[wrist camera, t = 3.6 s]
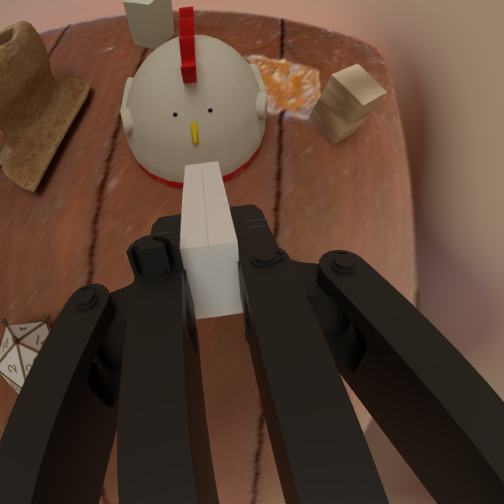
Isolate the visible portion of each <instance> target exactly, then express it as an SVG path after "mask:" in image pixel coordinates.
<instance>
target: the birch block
mask: <svg viewBox="0 0 504 504" xmlns="http://www.w3.org/2000/svg"><path fill="white" fill-rule="evenodd" d="M386 93H387V92H386V91H385V90H384V89H383V88H382V86H381V85H380V84H379V83H378V82H377V81H375V80H374V79H373V78H372V77H371V76H370V75H369V74H368V73H367V72H366V71H365V70H364V69H363V68H362V67H361V66H360V65H359V64H356V65H353V66H351V67H348V68H346V69H344V70H341V71H339V72H336V73H334V74H332V75H331V77H330V79H329V81H328V83H327V85H326V87H325V89H324V90H323V92H322V94H321V96H320V98H319V100H318V102H317V104H316V106H315V108H314V110H313V112H312V114H311V116H310V118H309V120H308V121H309V122H310V123H311V124H312V125H313V126H314V127H315V128H316V129H317V130H318V131H319V132H320V133H321V135H322V136H323V137H324V138H325V139H326V140H327V141H328V142H329V143H330V144H331V146H332V147H333V146H334V145H336V144H337V143H339V142H340V141H342V140H343V139H345V138H346V137H348V136H349V135H351V134H352V133H354V132H355V131H356V130H357V129H358V127H359V126H360V125H361V124H362V123H363V121H364V120H365V119H366V118H367V116H368V115H369V114H370V113H371V111H372V110H373V109H374V108H375V107H376V105H377V104H378V103H379V102H380V100H381V99H382V98H383V97H384V96H385V94H386Z"/></svg>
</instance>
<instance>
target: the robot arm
mask: <svg viewBox="0 0 504 504" xmlns="http://www.w3.org/2000/svg"><path fill="white" fill-rule="evenodd" d="M126 253H127V256H128V259H129V262H130V265H131V267H132V270H133V273H134V276H135V278H134V282H133V283H132V284H130V285H129V286H127V287H124V288H122V289H119V290H117V291H114V292H111V293H109V291H108V289H107V288H106V287H105V286H104V285H100V284H89V285H86V286H83V287H81V288H80V289H78V290H77V291H75V292H74V293H73V294H72V296H71V297H70V298H69V299H68V301H67V303H66V304H65V306H64V308H63V309H62V311H61V313H60V314H59V316H58V318H57V319H56V321H55V323H54V325H53V326H52V328H51V330H50V332H49V334H48V335H47V337H46V339H45V341H44V343H43V345H42V347H41V349H40V350H39V352H38V354H37V356H36V358H35V360H34V362H33V364H32V366H31V368H30V371H29V373H28V375H27V377H26V379H25V381H24V383H23V386H22V388H21V390H20V392H19V395H18V397H17V399H16V402H15V404H14V407H13V409H12V411H11V414H10V417H9V419H8V422H7V424H6V427H5V430H4V433H3V436H2V438H1V441H0V504H99V501H100V496H101V491H102V487H103V482H104V478H105V474H106V470H107V465H108V461H109V457H110V454H111V450H112V446H113V442H114V438H115V435H116V431H117V428H118V432H117V473H118V496H119V504H219V500H218V494H217V488H216V482H215V476H214V470H213V464H212V457H211V450H210V443H209V436H208V428H207V420H206V412H205V403H204V394H203V385H202V375H201V364H200V352H199V340H198V331H197V328H196V324H195V316H196V319H202V318H210V317H218V316H225V315H232V314H239V313H244V321H245V334H246V341H248V343H249V348H250V353H251V357H252V362H253V366H254V371H255V376H256V380H257V385H258V389H259V394H260V398H261V402H262V407H263V411H264V416H265V420H266V424H267V429H268V433H269V437H270V441H271V446H272V450H273V454H274V458H275V462H276V466H277V470H278V475H279V479H280V483H281V487H282V491H283V495H284V499H285V503H286V504H389V502H388V499H387V497H386V493H385V491H384V488H383V485H382V483H381V479H380V477H379V474H378V471H377V469H376V466H375V463H374V460H373V458H372V455H371V452H370V450H369V447H368V444H367V442H366V439H365V436H364V434H363V431H362V429H361V426H360V423H359V421H358V418H357V416H356V413H355V411H354V408H353V406H352V403H351V401H350V398H349V396H348V393H347V391H346V388H345V386H344V383H343V381H342V378H341V376H342V377H343V378H344V380H345V381H346V382H347V384H348V385H349V386H350V388H351V389H352V390H353V392H354V393H355V394H356V396H357V397H358V398H359V400H360V401H361V402H362V404H363V405H364V406H365V408H366V409H367V410H368V412H369V413H370V414H371V416H372V417H373V418H374V420H375V421H376V422H377V424H378V425H379V426H380V428H381V429H382V431H383V432H384V433H385V435H386V436H387V437H388V439H389V440H390V441H391V442H392V444H393V445H394V446H395V448H396V449H397V451H398V452H399V453H400V455H401V456H402V457H403V458H404V460H405V461H406V462H407V464H408V465H409V466H410V468H411V469H412V470H413V472H414V473H415V475H416V476H417V477H418V479H419V480H420V481H421V483H422V484H423V485H424V487H425V488H426V489H427V491H428V492H429V493H430V495H431V496H432V497H433V499H434V500H435V501H436V503H437V504H504V402H503V401H502V399H501V398H500V397H499V396H498V395H497V393H496V392H495V391H494V390H493V389H492V388H491V387H490V386H489V384H488V383H487V382H486V381H485V380H484V378H483V377H482V376H481V375H480V374H479V373H478V372H477V371H476V370H475V369H474V367H473V366H472V365H471V364H470V363H469V362H468V361H467V360H466V359H465V358H464V357H463V355H462V354H461V353H460V352H459V351H458V350H457V349H456V348H455V347H454V346H453V345H452V344H451V343H450V342H449V341H448V340H447V339H446V338H445V337H444V336H443V335H442V334H441V333H440V331H439V330H437V329H436V327H435V326H434V325H432V323H430V321H429V320H428V319H427V318H426V317H424V316H423V315H422V314H421V313H420V312H419V311H418V310H417V309H416V308H415V307H414V306H413V305H412V304H411V303H410V302H409V301H408V300H407V299H406V298H405V297H404V296H403V295H402V294H401V293H400V292H398V291H397V290H396V289H395V288H394V287H393V286H392V285H391V284H390V283H389V282H388V281H387V280H386V279H384V278H383V277H382V276H381V275H380V274H379V273H378V272H377V271H376V270H375V269H373V268H372V267H371V266H370V265H369V264H368V263H367V262H366V261H364V260H363V259H362V258H361V257H359V256H358V255H356V254H355V253H352V252H348V251H343V250H335V251H329V252H327V253H325V254H324V255H322V257H321V258H320V260H319V264H315V263H303V262H297V261H294V260H291V259H290V258H289V256H288V254H287V253H286V252H285V251H284V250H282V249H280V248H279V247H277V245H276V242H275V240H274V238H273V235H272V233H271V231H270V228H269V226H268V224H267V221H266V219H265V217H264V215H263V212H262V210H261V209H259V208H258V207H256V206H255V205H253V204H252V205H243V206H235V207H229V205H228V201H227V196H226V192H225V188H224V184H223V180H222V176H221V171H220V167H219V163H218V161H217V162H208V163H200V164H192V165H185V174H184V186H183V199H182V214H180V215H173V216H166V217H159V218H158V220H157V221H156V222H155V223H154V224H153V225H152V230H151V235H148V236H144V237H142V238H140V239H138V240H136V241H135V242H134V243H132V244H131V245H130V246H129V248H128V250H127V251H126ZM340 374H341V376H340Z"/></svg>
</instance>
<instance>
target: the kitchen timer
mask: <svg viewBox="0 0 504 504" xmlns="http://www.w3.org/2000/svg"><path fill="white" fill-rule="evenodd" d="M179 12H180V19H179V27H180V37H177V38H174V39H172V40H170V41H168V42H166V43H164V44H162V45H161V46H160V47H158V48H157V49H156V50H155V51H153V52H152V53H151V54H150V55H149V56H148V57H147V58H146V60H145V61H144V62H143V64H142V65H141V67H140V68H139V69H138V71H137V73H136V74H135V76H134V78H131V77H129V78H128V79H127V81H126V85H125V89H124V95H123V101H122V107H121V109H120V112H121V117H122V123H123V129H124V133H125V135H126V136H127V141H128V145H129V147H130V149H131V151H132V153H133V155H134V157H135V159H136V160H137V162H138V164H139V166H140V168H141V169H142V170H144V171H145V172H146V173H147V174H148V175H149V176H150V177H151V178H152V179H154V180H156V181H158V182H160V183H163V184H165V185H167V186H170V187H174V188H182V189H183V186H184V174H185V165H192V164H200V163H208V162H217V161H218V163H219V167H220V171H221V176H222V180H223V183H224V182H226V181H229V180H231V179H233V178H234V177H235V176H237V175H238V174H239V173H241V172H242V171H243V170H245V169H246V168H247V167H248V166H249V164H250V163H251V162H252V160H253V159H254V158H255V156H256V155H257V154H258V151H259V148H260V145H261V142H262V139H263V135H264V132H265V118H266V117H267V96H266V90H265V87H264V84H263V81H262V78H261V75H260V72H259V69H258V67H257V65H256V64H255V63H252V64H250V65H249V64H248V63H247V62H246V60H245V59H244V58H243V57H242V56H241V55H240V54H239V53H238V52H237V51H236V50H235V49H234V48H232V47H231V46H229V45H227V44H226V43H224V42H222V41H220V40H218V39H216V38H212V37H209V36H205V35H194V15H193V7H185V8H179Z"/></svg>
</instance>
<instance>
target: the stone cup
mask: <svg viewBox="0 0 504 504" xmlns="http://www.w3.org/2000/svg"><path fill="white" fill-rule="evenodd" d="M89 91H90V84H89V83H88V82H87V81H85V80H83V79H80V78H76V77H63V78H58V79H55V80H54V78H53V76H52V73H51V69H50V63H49V58H48V54H47V51H46V48H45V45H44V43H43V41H42V39H41V37H40V36H39V34H38V33H37V31H36V30H35V29H34V27H33V26H32V25H31V24H30V23H28V22H26V21H20V22H17V23H15V24H12V25H10V26H8V27H7V28H5V29H4V30H2V31H1V32H0V129H1V130H2V131H3V132H4V133H5V135H6V141H5V144H4V146H3V148H2V150H1V152H0V165H1V166H2V169H3V171H4V173H5V175H6V176H7V177H8V178H10V179H11V180H12V181H13V182H14V183H16V184H17V185H19V186H20V187H22V188H23V189H24V190H27V191H30V192H31V193H33V192H35V190H36V189H37V187H38V185H39V183H40V181H41V179H42V177H43V175H44V173H45V171H46V169H47V168H48V166H49V164H50V162H51V160H52V158H53V156H54V155H55V153H56V151H57V149H58V147H59V145H60V143H61V142H62V140H63V138H64V137H65V135H66V133H67V131H68V129H69V128H70V126H71V124H72V123H73V121H74V119H75V117H76V115H77V114H78V112H79V110H80V108H81V107H82V105H83V103H84V102H85V100H86V98H87V96H88V93H89Z"/></svg>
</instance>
